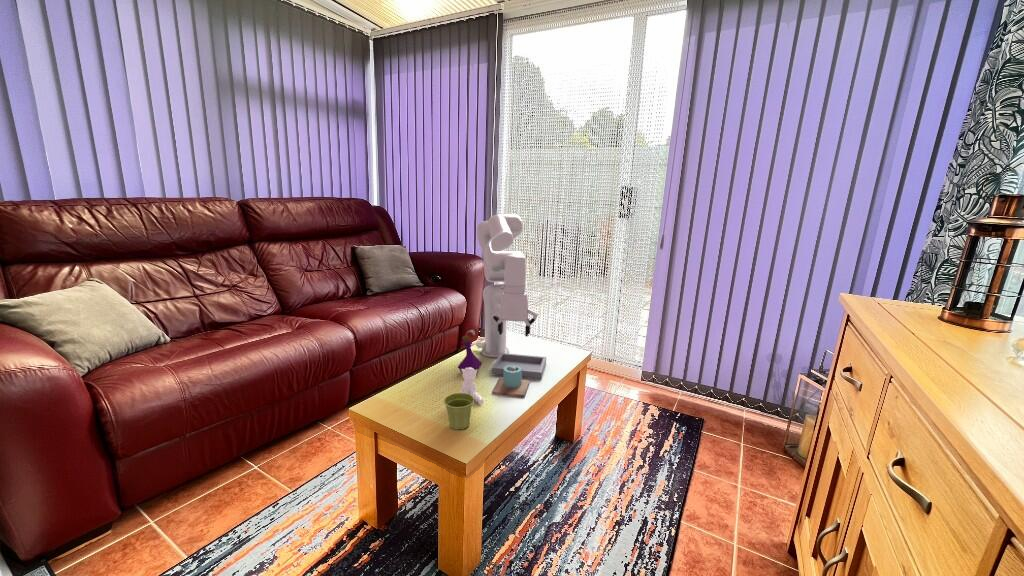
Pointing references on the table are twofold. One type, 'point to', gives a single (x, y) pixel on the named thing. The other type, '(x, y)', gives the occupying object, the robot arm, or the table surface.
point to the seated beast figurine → (470, 384)
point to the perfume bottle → (469, 355)
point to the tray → (521, 365)
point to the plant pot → (459, 409)
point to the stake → (508, 391)
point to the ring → (512, 376)
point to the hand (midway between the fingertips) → (513, 334)
